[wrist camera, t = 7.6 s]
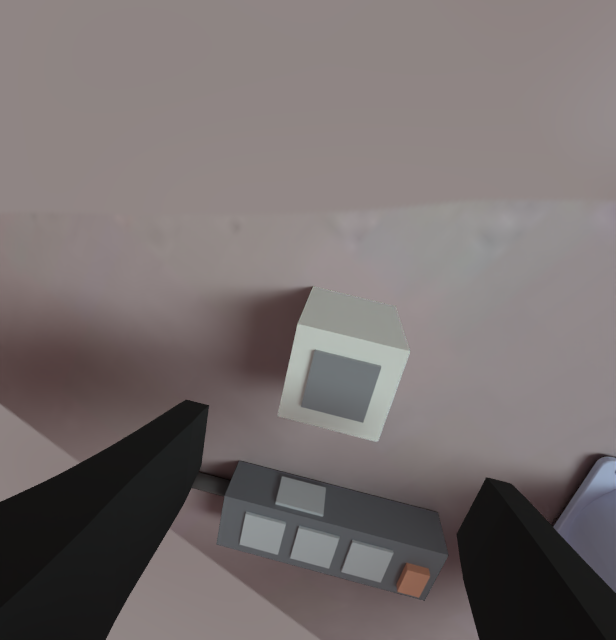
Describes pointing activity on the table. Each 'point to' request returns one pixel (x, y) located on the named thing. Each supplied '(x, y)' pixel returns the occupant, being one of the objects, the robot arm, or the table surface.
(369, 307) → the charger plug
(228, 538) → the power strip
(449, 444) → the table surface
